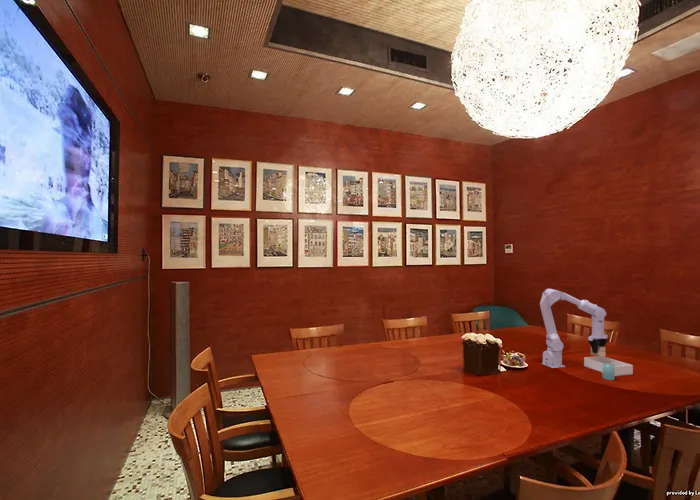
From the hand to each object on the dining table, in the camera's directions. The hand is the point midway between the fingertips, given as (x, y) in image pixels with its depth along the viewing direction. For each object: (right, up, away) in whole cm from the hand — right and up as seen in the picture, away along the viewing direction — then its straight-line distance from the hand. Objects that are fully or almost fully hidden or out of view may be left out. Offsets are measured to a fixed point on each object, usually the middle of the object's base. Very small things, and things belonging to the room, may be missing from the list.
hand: (598, 352), depth 195 cm
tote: (+3, -9, -3) cm, 10 cm away
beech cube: (0, -2, 0) cm, 2 cm away
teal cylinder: (-6, -9, -16) cm, 19 cm away
